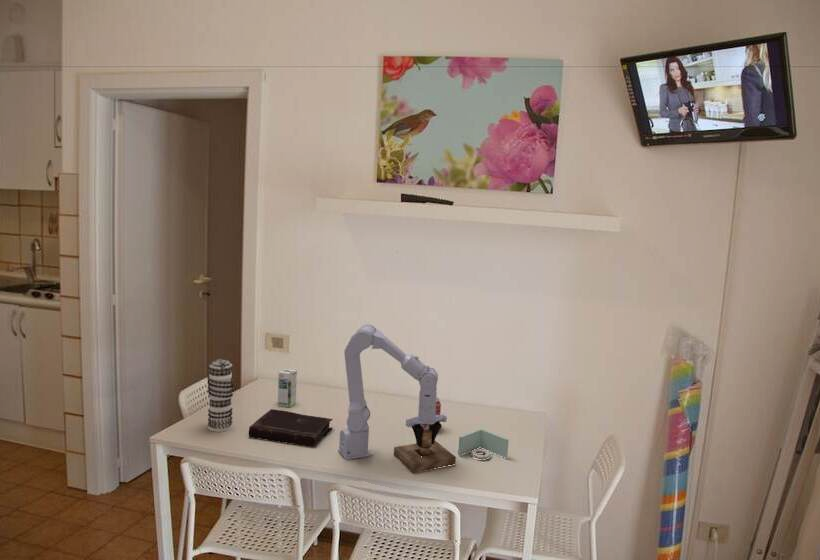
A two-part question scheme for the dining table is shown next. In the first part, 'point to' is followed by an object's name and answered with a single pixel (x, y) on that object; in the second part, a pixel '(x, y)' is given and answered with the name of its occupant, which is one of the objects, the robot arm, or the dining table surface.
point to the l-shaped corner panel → (483, 444)
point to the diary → (290, 428)
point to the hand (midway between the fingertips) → (425, 444)
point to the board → (424, 457)
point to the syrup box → (287, 387)
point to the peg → (426, 442)
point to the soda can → (438, 410)
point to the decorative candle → (220, 395)
